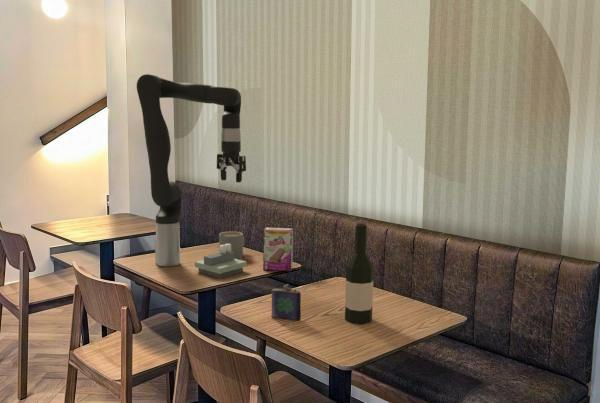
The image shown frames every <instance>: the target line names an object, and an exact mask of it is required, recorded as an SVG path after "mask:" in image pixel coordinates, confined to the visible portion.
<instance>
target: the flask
mask: <svg viewBox="0 0 600 403" xmlns="http://www.w3.org/2000/svg"><path fill="white" fill-rule="evenodd" d="M289 286H290V284H289V283H286V284H285V285H283V288H273V289H271V318H272V319H276V320H283V321H285V320H286V321H292V322H300V321H301V316H302V315H301V313H302V312H301V311H302V310H301V303H302V300H301V295H302V293H301V291H300V290H297V289H295V288H292V287H289Z"/></svg>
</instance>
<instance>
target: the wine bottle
mask: <svg viewBox="0 0 600 403" xmlns="http://www.w3.org/2000/svg"><path fill="white" fill-rule="evenodd" d="M367 232H368V225H366V222H365V221H364V222H363V221H362V222H361V221H360V222H359V221H357V222H356V224H355V232H354V233H355V236H354V238H355V239H354V253H353V255H352V257H351V258H350V259H349V262H348V263H347V265H346V266H345V268H346V270H345V296H344V297H345V301H344V302H345V303H344V305H345V306H344V310H345V311H344V320H345V321H346V322H347V323H349V324H352V325H353V324H354V325H366V324H370V323H371V322H372V320H373V306H374V305H373V302H374V272H375V270H374V267H375V265H374V264H373V263H372V261H371V259H370V257H369V256H368V254H367V240H368V239H367V238H368V237H367V235H368V233H367Z"/></svg>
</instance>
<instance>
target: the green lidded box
mask: <svg viewBox="0 0 600 403" xmlns="http://www.w3.org/2000/svg"><path fill="white" fill-rule="evenodd" d="M194 267H195V268H197V269H198V273H200V274H204V275H208V276H210V277H215V278H219V279H221V278H225V277H228V276H231V275H232V276H233V275H235V274H239V273H243V272H244V270H243V269H244V268H246V267H247V261H245V260H243V259H234V260H232V261H228V262H225V263H221V264H217V265H213V266H209V265H206V264H204V259H201V260H198V261H197V260H196V261H195V262H194Z"/></svg>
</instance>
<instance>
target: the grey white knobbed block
mask: <svg viewBox="0 0 600 403" xmlns="http://www.w3.org/2000/svg"><path fill="white" fill-rule="evenodd" d="M203 260H204V264H206V265H209V266H213V265H217V264H221V263H225V262H228V261H232V260H234V252H231V244H225V245H220V253H219V252H217V253H212V254H208V255H204V256H203Z"/></svg>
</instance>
